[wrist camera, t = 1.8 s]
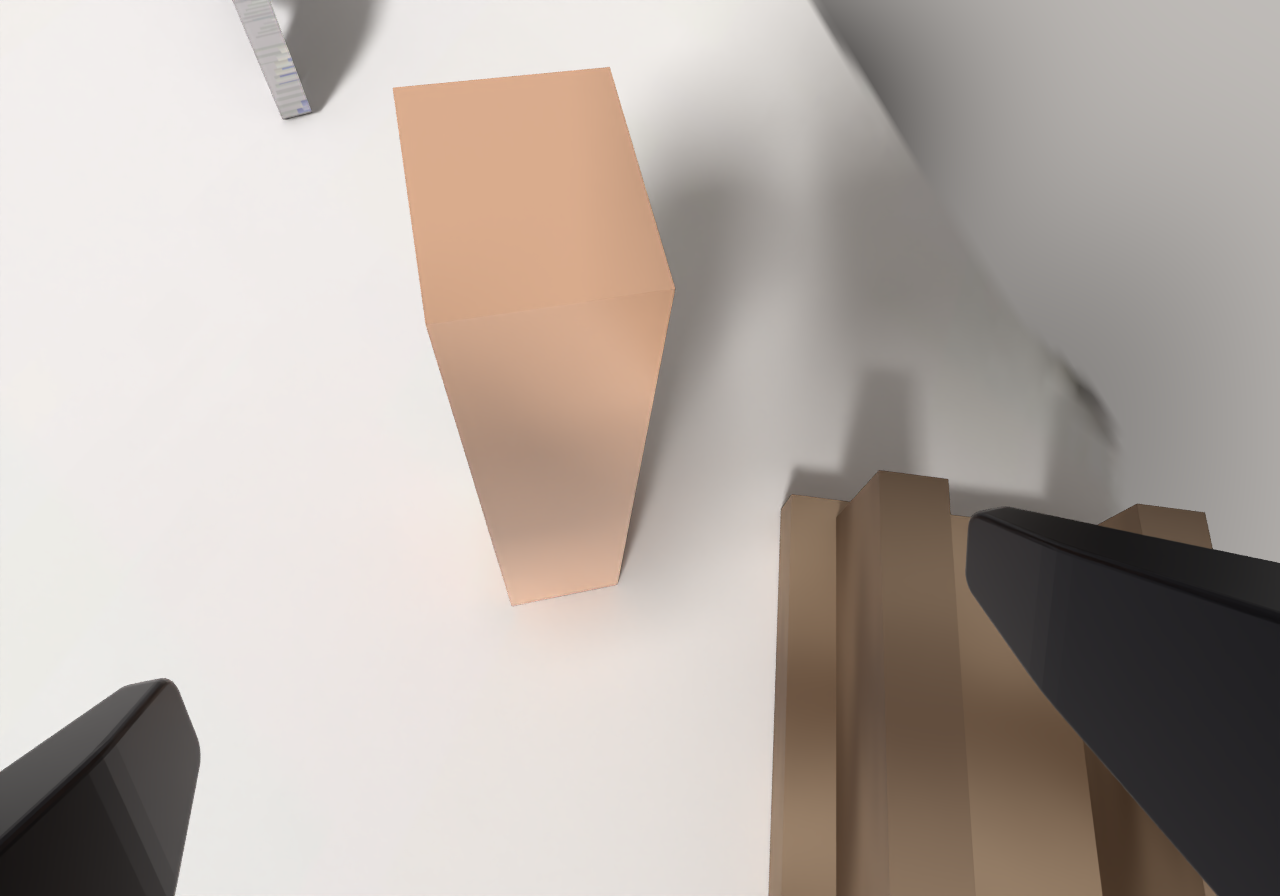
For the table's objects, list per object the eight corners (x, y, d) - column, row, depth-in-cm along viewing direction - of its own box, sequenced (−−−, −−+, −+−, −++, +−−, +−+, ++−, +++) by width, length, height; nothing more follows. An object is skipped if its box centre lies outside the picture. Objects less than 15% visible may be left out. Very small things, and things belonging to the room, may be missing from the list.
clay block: (617, 584, 21) (675, 288, 9) (511, 606, 20) (425, 324, 8) (590, 462, 22) (609, 66, 10) (491, 479, 22) (392, 87, 10)
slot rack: (1216, 1079, 17) (1411, 1162, 13) (764, 1030, 17) (823, 1098, 13) (1129, 554, 22) (1251, 498, 18) (781, 509, 22) (826, 443, 18)
